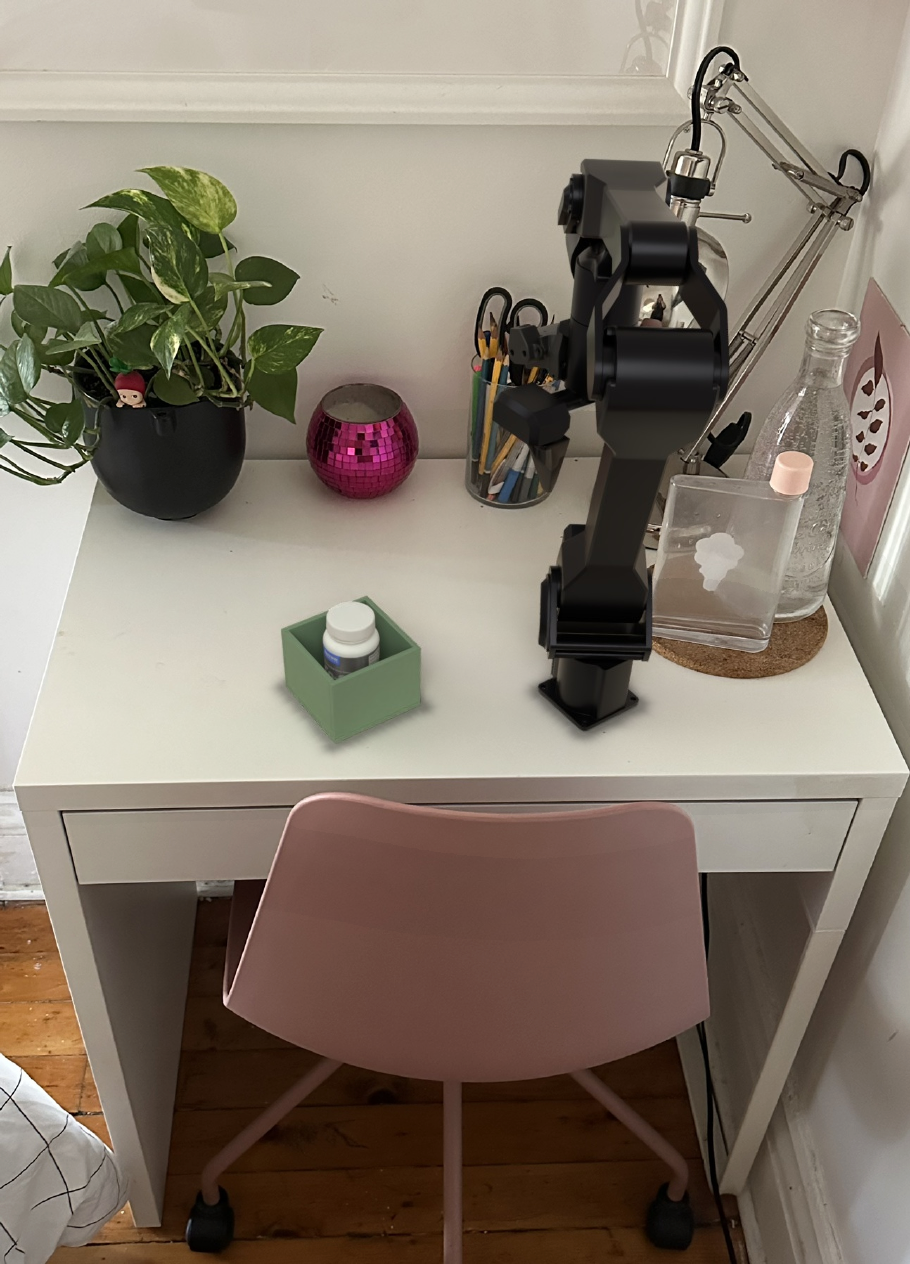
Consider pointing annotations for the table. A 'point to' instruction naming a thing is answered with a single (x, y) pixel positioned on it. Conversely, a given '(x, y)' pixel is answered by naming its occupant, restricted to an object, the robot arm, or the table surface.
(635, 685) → the table surface
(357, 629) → the pill bottle
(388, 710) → the waste bin
